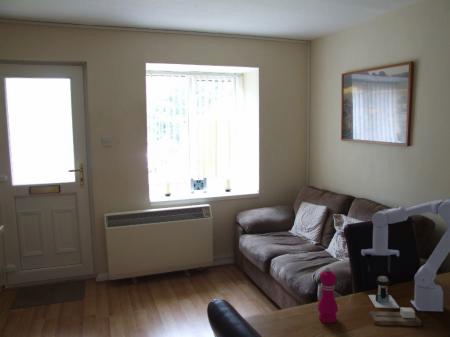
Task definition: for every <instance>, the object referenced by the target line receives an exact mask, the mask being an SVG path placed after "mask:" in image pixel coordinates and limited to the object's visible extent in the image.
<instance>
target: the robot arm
mask: <svg viewBox="0 0 450 337" xmlns="http://www.w3.org/2000/svg"><path fill="white" fill-rule="evenodd" d="M427 213H431V214H433V215H436V216H438V215H439V216H440V217H441V219H443V221H444V222H445V224H446V226H447V230H446V231H445V233H444V234H443V235H442V237H441V239H440V240H439V242H438V243H437V245H436V247H435V248H434V250H433V252H432V254H431V255H430V256H429V258H428V259H427V261H426V262H425V264H423V265H421V266H420V267H419V268H418V270H417V272H416V273H415V274H414V278H413V280H414V298H413V300H410V301H409V302H410V303H411V305H412V306H413V307H414V308H415V309H416V310H417V311H419V312H444V291H443V288H442V286H441V285H440V284H436V283H435V281H434V280H435V279H436V277H437V272H438V269H439V268H440V267H441V265H442V263H443V262H444V260H445V259H446V257H447V256H448V254H449V253H450V197H448V198H444V199H438V200H437V199H436V200H432V201H427V202H425V203H420V204H417V205H413V206H410V207H404V206H399V205H395V206H394V207H392V208H389V209H386V208H384V209H382V210H379V211H377V212H375V213H374V214H373V215H372V217H371V223H372V224H373V227H372V228H373V229H372V248H367V249H361V251H360V253H361V255H362V256H363V257H364V259H365V261H366V265H367V267H368V272H369V273H372V272H373V268H372V266H373V258H372V256H387V272H388V273H389V274H392V270H393V266H394V265H395V263H396V261H397V260H398V257H400V251H399V250H398V249H389V248H388V246H389V242H388V241H389V225H390V224H396V223H400V222H404V221H407V220H408V218H409V217H413V216H417V215H422V214H427Z"/></svg>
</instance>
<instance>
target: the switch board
mask: <svg viewBox="0 0 450 337" xmlns="http://www.w3.org/2000/svg"><path fill="white" fill-rule="evenodd" d="M368 313H369V314H368V315H369V317H370V319H371V321H372V323H373V324H374V325H375V326H376V325H378V326H379V325H381V326H407V327H408V326H414V327H421V326H422V321H421V319H420V318H419V317H418V316H417V315H416V314H415V318H403V317H402V316H401V314H400V311H379V310H378V311H377V310H376V311H374V310H373V311H372V310H371V311H369V312H368Z"/></svg>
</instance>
